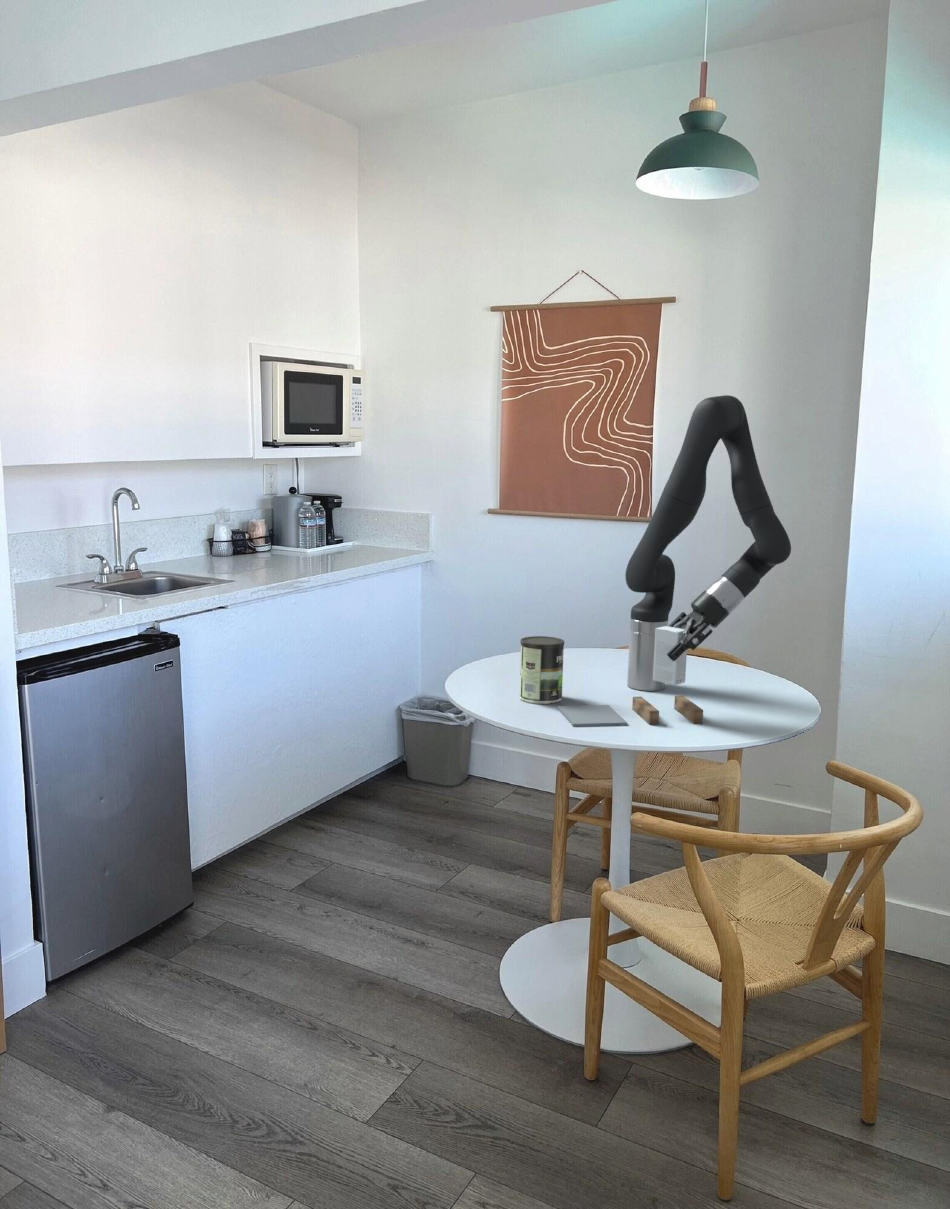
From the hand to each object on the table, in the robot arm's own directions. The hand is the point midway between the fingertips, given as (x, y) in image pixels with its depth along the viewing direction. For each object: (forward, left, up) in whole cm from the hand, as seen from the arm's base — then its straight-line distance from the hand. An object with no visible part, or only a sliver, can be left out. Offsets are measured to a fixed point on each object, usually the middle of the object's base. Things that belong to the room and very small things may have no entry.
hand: (663, 653), depth 208 cm
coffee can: (-17, -24, -14) cm, 32 cm away
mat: (-1, -16, -14) cm, 21 cm away
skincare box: (0, +2, -7) cm, 7 cm away
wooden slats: (0, +1, -14) cm, 14 cm away
